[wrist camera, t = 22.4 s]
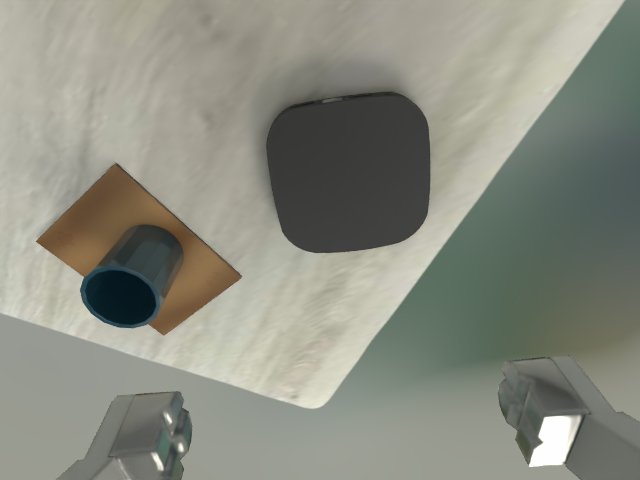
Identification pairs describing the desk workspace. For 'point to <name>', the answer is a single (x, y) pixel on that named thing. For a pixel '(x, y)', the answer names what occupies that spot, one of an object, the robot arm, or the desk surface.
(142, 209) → the brown flat rectangular board
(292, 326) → the desk surface
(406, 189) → the media streaming box
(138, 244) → the cup
